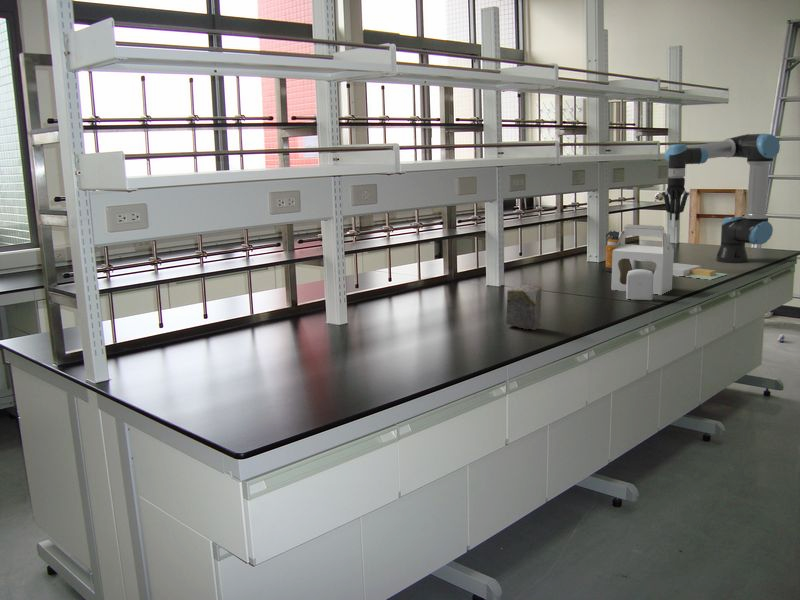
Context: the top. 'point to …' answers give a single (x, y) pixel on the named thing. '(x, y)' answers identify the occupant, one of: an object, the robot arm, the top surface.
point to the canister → (610, 248)
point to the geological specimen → (524, 306)
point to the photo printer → (639, 285)
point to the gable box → (643, 258)
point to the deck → (683, 269)
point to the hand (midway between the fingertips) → (674, 226)
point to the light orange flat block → (703, 272)
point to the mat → (707, 276)
